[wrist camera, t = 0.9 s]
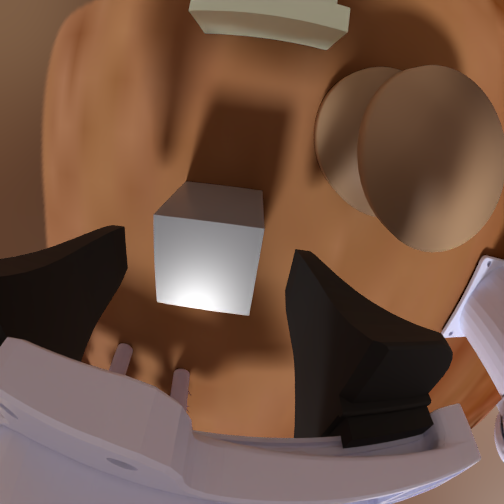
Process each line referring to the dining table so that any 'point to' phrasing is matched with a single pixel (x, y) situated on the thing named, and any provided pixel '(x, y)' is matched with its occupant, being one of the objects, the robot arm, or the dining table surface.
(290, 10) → the pale green flanged block
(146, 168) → the dining table surface
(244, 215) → the gray metal block
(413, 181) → the tan rounded lump
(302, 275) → the robot arm
